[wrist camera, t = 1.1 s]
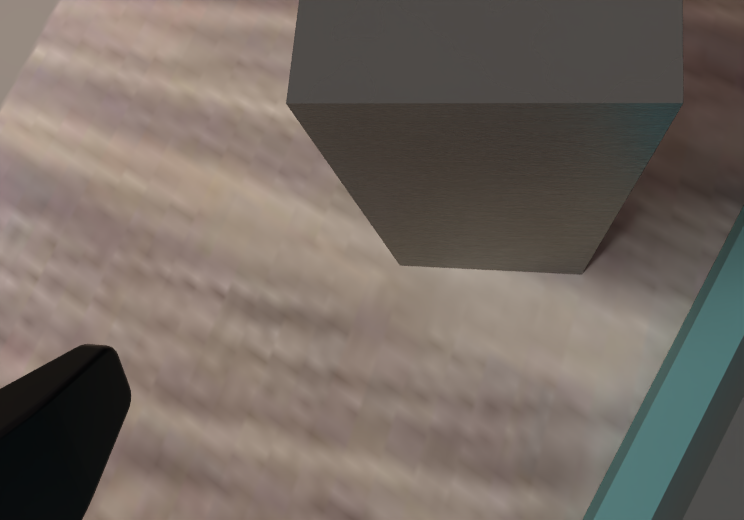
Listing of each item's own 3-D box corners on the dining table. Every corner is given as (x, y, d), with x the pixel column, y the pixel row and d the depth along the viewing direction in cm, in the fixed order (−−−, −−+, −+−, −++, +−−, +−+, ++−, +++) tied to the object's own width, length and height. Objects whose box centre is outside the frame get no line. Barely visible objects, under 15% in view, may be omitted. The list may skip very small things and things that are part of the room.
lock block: (581, 274, 21) (683, 103, 9) (400, 265, 23) (286, 102, 11) (585, 103, 23) (681, -239, 11) (413, 104, 24) (324, -204, 12)
